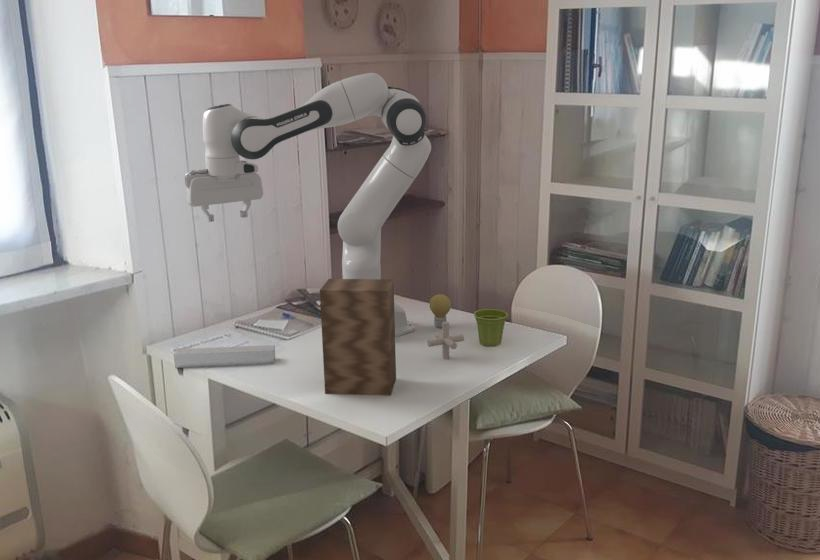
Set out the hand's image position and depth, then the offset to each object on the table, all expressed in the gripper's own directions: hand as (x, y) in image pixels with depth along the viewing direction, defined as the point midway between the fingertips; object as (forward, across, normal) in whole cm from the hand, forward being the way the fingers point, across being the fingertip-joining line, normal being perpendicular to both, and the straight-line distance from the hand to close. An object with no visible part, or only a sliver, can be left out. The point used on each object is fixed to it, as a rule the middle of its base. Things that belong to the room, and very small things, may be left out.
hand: (227, 219), depth 208 cm
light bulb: (+37, +57, -18) cm, 71 cm away
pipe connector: (+37, +43, -40) cm, 70 cm away
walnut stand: (+37, +15, -43) cm, 59 cm away
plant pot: (+37, +60, -38) cm, 80 cm away
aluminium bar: (+37, -7, -8) cm, 39 cm away
